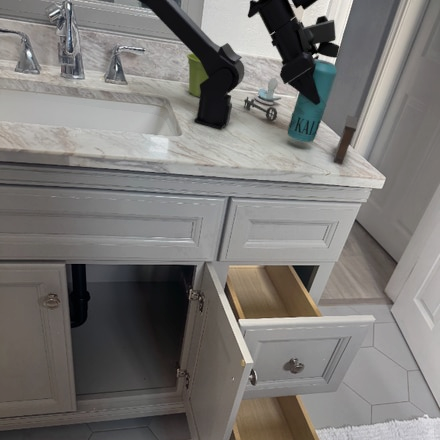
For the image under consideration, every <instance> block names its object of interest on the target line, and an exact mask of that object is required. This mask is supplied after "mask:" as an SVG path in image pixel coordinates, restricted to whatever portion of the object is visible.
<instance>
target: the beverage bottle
mask: <svg viewBox="0 0 440 440" xmlns="http://www.w3.org/2000/svg"><path fill="white" fill-rule="evenodd" d="M317 48H318V49H317V54H318V55H321V56H324V57H329V58H334V59H336V58H338V56H339V50H340V45H338V44H336V43H335V42H332V41H331V42H322V43H318V46H317ZM314 61H315V63H316V67H315V71H314V74H313V76H314V80H315V83H316V87H317V90H318V94H319V97H320V101H321V102H320V103H319V104H318V105H315V104H314V103H312V102H311V101H310V100H309V99H307V98H306V97H305V96H304V95H302V94H301V93H300V92H299V91H298V93H297V94H298V95H297V98H296V101H295V105H294V107H293V111H292V113H291V115H290V120H289V122H288V123H289V124H288V127H287V135H288V137H290V138H291V139H293V140H295V141H299V142H304V143H313V142H314V140H315V139H316V137H317V135H318V132H319V129H320V124H321V123H322V119H323V115H324V113H325V110H326V107H327V104H328V100H329V97H330V93H331V91H332V88H333V85H334V83H335V80H336V76H337V74H338V70H337V67H336V66H335V64H334V63H332V62H330V61H327V60H323V59H320V58H318V59H314Z"/></svg>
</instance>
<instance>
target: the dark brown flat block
mask: <svg viewBox="0 0 440 440" xmlns="http://www.w3.org/2000/svg"><path fill="white" fill-rule="evenodd" d="M357 125H358V117H357V116H352V115H349V114H348V115H347V116H346V119H345V124H344V127H343V130H342V132H341V135H340V138H339V141H338V144H337V146H336V149H335V153H334V159H333V163H335V164H339V165H342V164H343V162H344V160H345V157H346V154H347V151H348V149H349V147H350V144H351V141H352V138H353V136H354V133H356V131H357Z"/></svg>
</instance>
